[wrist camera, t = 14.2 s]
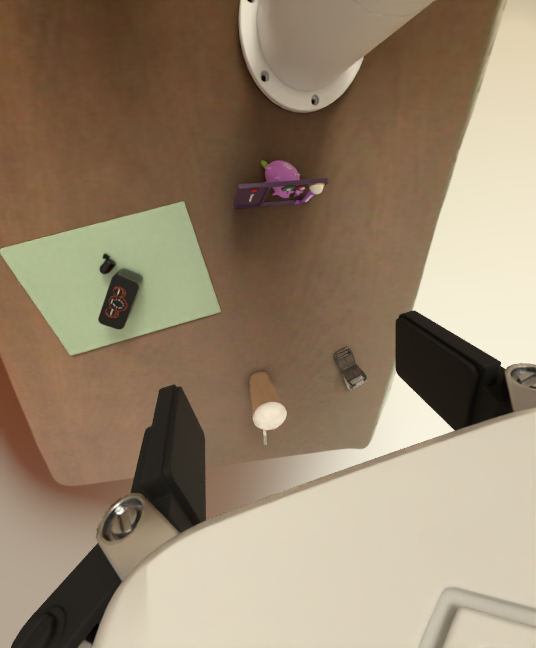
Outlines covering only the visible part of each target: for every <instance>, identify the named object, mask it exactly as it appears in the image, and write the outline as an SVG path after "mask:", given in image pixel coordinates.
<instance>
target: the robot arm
mask: <svg viewBox="0 0 536 648" xmlns="http://www.w3.org/2000/svg"><path fill="white" fill-rule="evenodd" d="M433 1H434V0H252V3H249V2H248V1H247V0H240V6H239V18H238V21H239V38H240V43H241V48H242V53H243V56H244V59H245V62H246V65H247V68H248V70H249V72H250V74H251V76H252V78H253V80H254V81H255V83H256V84H257V86H258V87H259V88H260V90H261V91H262V92H263V94H264V95H265V96H267V97H268V98H269V99H270V100H271V101H272V102H273V103H275V104H276V105H278V106H280V107H281V108H283V109H286V110H289V111H292V112H299V113H308V112H313V111H317V110H319V109H322V108H324V107H326V106H328V105H329V104H331V103H332V102H334V101H335V100H336V99H337V98H339V97H340V96H341V95H342V94H343V93H344V92H345V91H346V89H347V88H348V87H349V85H350V84H351V83H352V81H353V79H354V78H355V76H356V74H357V72H358V70H359V68H360V65H361V63H362V60H363V57H364V56H365V55H366V54H367V53H369V52H370V51H371V50H372V49H374V48H375V47H376V46H377V45H379V44H380V43H381V42H383V41H384V40H385V39H386V38H388V37H389V36H390V35H391V34H393V33H394V32H395V31H396V30H398V29H399V28H400V27H402V26H403V25H404V24H405V23H407V22H408V21H409V20H410V19H412V18H413V17H414V16H415V15H417V14H418V13H419V12H421V11H422V10H423V9H424V8H426V7H427V6H428V5H429V4H431V3H432V2H433ZM261 76H264V77H265V81H264V82H263V81H262V80H261ZM311 100H314V105H313V104H312V103H311ZM500 365H501V362H500V361H498V360H497V359H495V358H493V357H492V356H490V355H488V354H487V353H485V352H483V351H482V350H480V349H478V348H476V347H475V346H473V345H471V344H470V343H468V342H466V341H465V340H463V339H461V338H460V337H458V336H456V335H455V334H453V333H451V332H450V331H448V330H446V329H445V328H443V327H441V326H440V325H438V324H436V323H435V322H433V321H431V320H430V319H428V318H426V317H424V316H423V315H421V314H420V313H418V312H416V311H410V312H407V313H403V314H401V315H399V318H398V319H397V320H396V371H397V374H398V375H399V376H400V377H401V378H402V379H403V380H404V381H405V382H406V383H407V384H408V385H409V386H410V387H411V388H412V389H413V390H414V391H415V392H416V393H417V394H418V395H419V396H420V397H421V398H422V399H423V400H424V401H425V402H426V403H427V404H428V405H429V406H430V407H431V408H432V409H433V410H434V411H436V413H437V414H438V415H439V416H441V417H442V418H443V419H444V420H445V421H446V422H447V423H448V424H449V425H450V426H451V427H452V428H453V429H454V430H455V431H453V432H450V433H447V434H445V435H442V436H439V437H436V438H433V439H430V440H427V441H424V442H421V443H418V444H415V445H412V446H410V447H407V448H404V449H401V450H398V451H395V452H392V453H389V454H387V455H384V456H381V457H378V458H375V459H372V460H370V461H367V462H364V463H361V464H358V465H355V466H352V467H350V468H347V469H344V470H341V471H338V472H335V473H333V474H330V475H327V476H324V477H321V478H319V479H316V480H313V481H310V482H307V483H305V484H302V485H299V486H296V487H294V488H291V489H288V490H285V491H282V492H279V493H277V494H274V495H271V496H269V497H265V498H263V499H260V500H257V501H255V502H252V503H250V504H247V505H244V506H241V507H239V508H236V509H234V510H231V511H228V512H225V513H223V514H220V515H218V516H215V517H213V518H211V519H208V520H206V500H205V437H204V433H203V430H202V428H201V426H200V424H199V422H198V420H197V418H196V416H195V414H194V412H193V410H192V408H191V406H190V403H189V401H188V399H187V397H186V395H185V393H184V391H183V389H182V387H176V385H171V386H168V387H164V388H161V389H160V390H159V394H158V399H157V404H156V408H155V413H154V418H153V423H152V426H151V427H148V428H147V429H146V431H145V433H144V438H143V442H142V446H141V451H140V455H139V459H138V463H137V468H136V472H135V476H134V481H133V485H132V489H131V494H128V495H125V496H124V497H122V498H120V499H118V500H117V501H116V502H115V503H114V504H112V505H111V507H110V508H109V509H108V510H107V511H106V512H105V514H104V515H103V517H102V518H101V520H100V523H99V525H98V528H97V535H96V538H97V541H98V543H97V545H96V546H95V547H94V548H93V549H92V550H91V551H90V552H89V553H88V555H87V556H86V557H85V558H84V559H83V560H82V561H81V562H80V563H79V564H78V566H77V567H76V568H75V569H74V570H73V571H72V572H71V573H70V574H69V576H68V577H67V578H66V579H65V580H64V581H63V582H62V583H61V584H60V585H59V587H58V588H57V589H56V590H55V591H54V592H53V593H52V594H51V595H50V597H49V598H48V599H47V600H46V601H45V602H44V603H43V604H42V605H41V607H40V608H39V609H38V610H37V611H36V612H35V613H34V614H33V615H32V616H31V618H30V619H29V620H28V621H27V623H26V624H25V625H24V626H23V628H22V629H21V630H20V632H19V634H18V635H17V637H16V639H15V640H14V642H13V644H12V646H11V648H536V365H534V364H522V363H520V364H514V365H511V366H509V367H507V369H504V368H503V367H501V366H500Z"/></svg>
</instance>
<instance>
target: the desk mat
mask: <svg viewBox="0 0 536 648" xmlns="http://www.w3.org/2000/svg"><path fill="white" fill-rule="evenodd" d="M0 254H1V255H2V257H3V258H4V260H5V261H6V263H7V264H8V266H9V267H10V268H11V270H12V271H13V273H14V274H15V276H16V277H17V279H18V280H19V282H20V283H21V284H22V286H23V287H24V289H25V290H26V292H27V293H28V295H29V296H30V297H31V299H32V300H33V302H34V303H35V305H36V306H37V308H38V309H39V311H40V312H41V313H42V315H43V316H44V318H45V319H46V321H47V322H48V324H49V325H50V326H51V328H52V329H53V331H54V332H55V334H56V335H57V337H58V338H59V339H60V341H61V342H62V344H63V345H64V347H65V348H66V350H67V351H68V353H69V354H70V355H71V356H72V355H75V354H79V353H82V352H85V351H89V350H92V349H96V348H99V347H103V346H106V345H109V344H113V343H116V342H120V341H123V340H126V339H130V338H133V337H137V336H140V335H144V334H147V333H150V332H154V331H157V330H161V329H164V328H167V327H171V326H174V325H178V324H181V323H185V322H188V321H191V320H195V319H198V318H202V317H205V316H208V315H212V314H215V313H219V312H221V309H220V306H219V303H218V300H217V297H216V295H215V292H214V289H213V286H212V283H211V280H210V277H209V274H208V271H207V268H206V265H205V262H204V259H203V256H202V253H201V250H200V247H199V244H198V241H197V238H196V235H195V232H194V230H193V227H192V224H191V221H190V218H189V215H188V212H187V209H186V206H185V203H184V201H183V202H179V203H175V204H171V205H167V206H163V207H159V208H156V209H152V210H148V211H144V212H140V213H136V214H132V215H128V216H125V217H121V218H117V219H113V220H109V221H105V222H101V223H97V224H93V225H90V226H86V227H82V228H78V229H74V230H70V231H66V232H62V233H59V234H55V235H51V236H47V237H43V238H39V239H35V240H31V241H27V242H24V243H20V244H16V245H12V246H8V247H4V248H0ZM104 254H107V255H109V256H111V257H110V259H112V260H114V261H115V262H116V264H117V265H116V266H115V267H114V268H113V270H112V271H111V272H110V273H108V274H102V273H101V272H100V269H99V268H100V266H101V265H102V264H103V262H104V261H105V259H102V257H103V255H104ZM122 268H125V269H128V270H130V271H133V272H135V273H138V274H140V275H141V276H142V277H143V282H142V285H141V288H140V290H139V293H138V296H137V298H136V301H135V304H134V306H133V309H132V312H131V314H130V317H129V319H128V321H127V322H126V324H125V326H124V328H123V329H115V328H112V327H108V326H105V325H102V324H101V323H99V321H98V317H99V314H100V312H101V309H102V306H103V303H104V300H105V297H106V294H107V291H108V288H109V285H110V282H111V279H112V277H113V276H114V275H115V274H116V273H117V272H118V271H119V270H120V269H122Z"/></svg>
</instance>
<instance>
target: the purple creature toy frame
mask: <svg viewBox="0 0 536 648" xmlns="http://www.w3.org/2000/svg"><path fill="white" fill-rule="evenodd" d="M266 163H267V162H264V160H263V161H261V164H262V166H263V167H264V169H265V177H266V180H267V181H266V182H265V183H253V184H239V185H237V189H236V195H235V201H234V209H243V208H255V207H267V206H278V205H290V204H293V205H294V204H302V203H308V202H309V201H310V200H311V199H312V198H313V197H314V196H315V195H316V194H319V193H321V192H322V190H323V188H324V187H325V186H326V185H327V184H328V178H322V179H308V180H300V178H299V175H301V174H298V172H297V170H296V168H295V167H294V166H293V165H291V164H290V163H288V162H285V161H274V162H272V163H270V164H266ZM309 184H313V185H311V186H310V187H309ZM271 187H272V188H273V189H274V191H275V192H274V193H273V194H272V195H279V196H280V197H282V198H289V197H293V196H295V194H296V195H298V196H299V194H300V193H303V191H299V190H305V189H307V188H309V189H310V190H309V192H308V194H307V195H306V196H305V198H304V199H300V200H288V201H276V202H264V200H265V198H266V196H267V194H268V192H269V190H270V188H271ZM263 202H264V203H263Z"/></svg>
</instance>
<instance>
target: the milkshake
mask: <svg viewBox="0 0 536 648" xmlns="http://www.w3.org/2000/svg"><path fill="white" fill-rule="evenodd" d="M249 386H250V394H251V402H252V413H253V421H254V424H255V425H256V426H257V427H258V428H260V429H263V439H264V445H267V434H266V430H272V429H276V428H277V427H279V426H280V425H281V424H282V423H283V422H284V420H285V418H286V415H287V412H286V409H285V407H284V405H283V403H282V402H281V400H280V398H279V396H278V394H277V392H276V390H275V388H274V386H273V384H272V382H271V380H270V378H269V376H268V374H267V373H265V372H263V371H260V372H255V373H254V374H253V375H251V377H250V380H249Z"/></svg>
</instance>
